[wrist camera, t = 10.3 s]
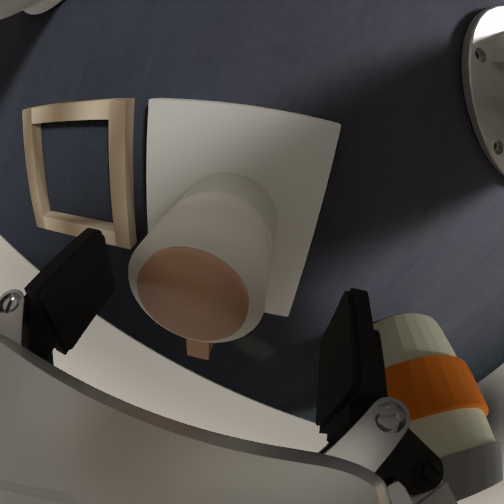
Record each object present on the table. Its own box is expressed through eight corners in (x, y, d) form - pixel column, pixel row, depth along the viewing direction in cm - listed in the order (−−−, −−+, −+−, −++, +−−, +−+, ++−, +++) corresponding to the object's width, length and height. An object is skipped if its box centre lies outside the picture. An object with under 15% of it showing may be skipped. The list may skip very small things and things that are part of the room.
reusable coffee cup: (300, 368, 24) (285, 527, 12) (388, 271, 18) (441, 503, 5) (395, 393, 26) (405, 517, 13) (479, 321, 19) (528, 465, 6)
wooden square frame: (134, 98, 14) (125, 99, 13) (136, 242, 19) (130, 249, 18) (31, 107, 14) (22, 109, 13) (44, 221, 20) (37, 226, 19)
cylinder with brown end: (183, 166, 15) (115, 223, 9) (286, 183, 14) (278, 255, 9) (181, 283, 19) (141, 362, 14) (260, 300, 19) (244, 388, 13)
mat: (338, 122, 13) (341, 125, 12) (288, 307, 20) (287, 316, 20) (157, 97, 14) (149, 99, 13) (157, 279, 21) (152, 287, 20)
